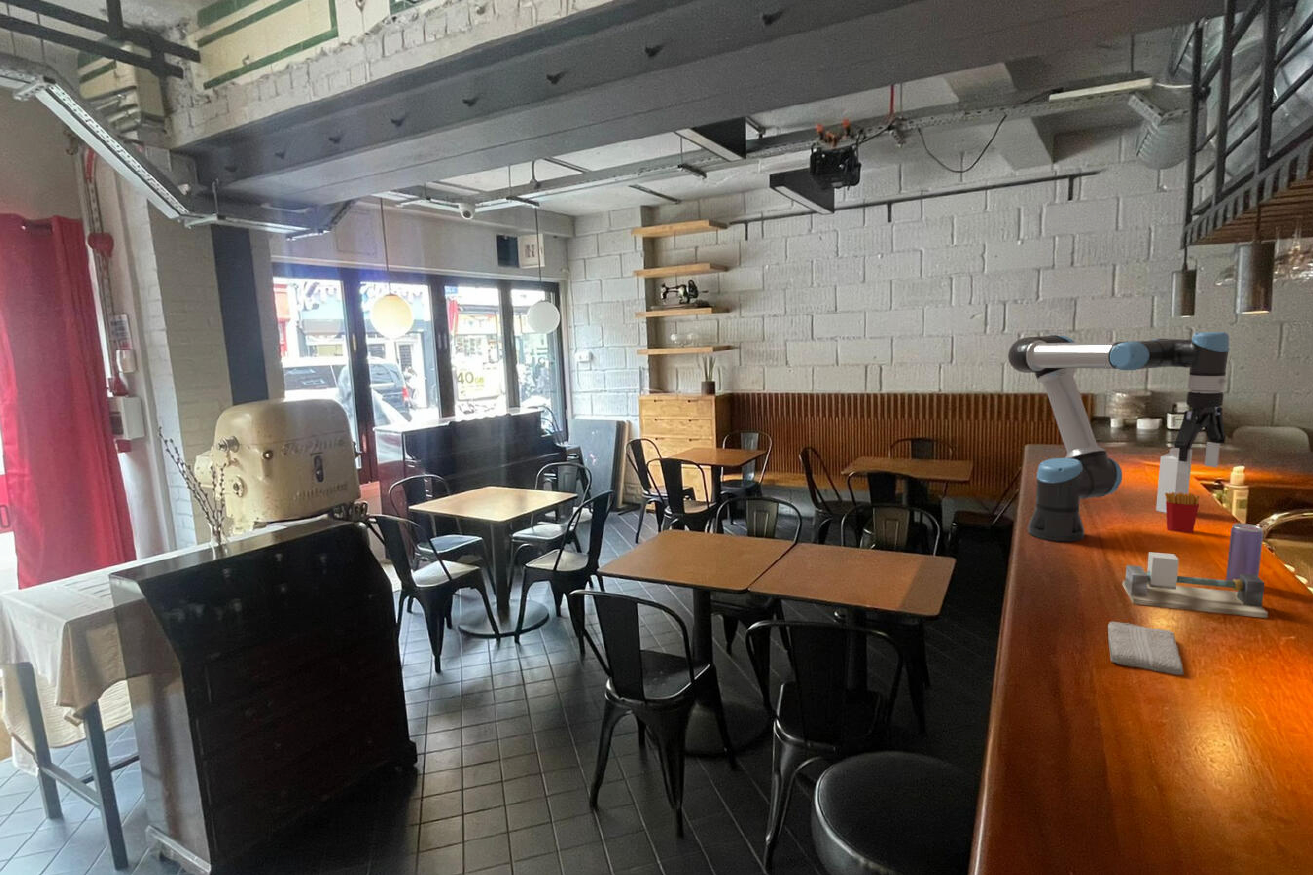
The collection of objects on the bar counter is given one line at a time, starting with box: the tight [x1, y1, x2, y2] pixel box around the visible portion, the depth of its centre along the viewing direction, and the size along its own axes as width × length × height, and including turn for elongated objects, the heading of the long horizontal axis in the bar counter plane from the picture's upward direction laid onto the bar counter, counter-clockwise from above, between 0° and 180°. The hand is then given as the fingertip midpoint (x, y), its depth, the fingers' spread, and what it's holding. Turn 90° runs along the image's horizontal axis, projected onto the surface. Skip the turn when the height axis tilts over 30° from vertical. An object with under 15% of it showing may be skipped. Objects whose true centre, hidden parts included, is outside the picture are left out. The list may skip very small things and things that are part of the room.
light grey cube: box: [1146, 551, 1180, 590], centre depth 164 cm, size 5×4×7 cm
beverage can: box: [1225, 523, 1264, 581], centre depth 169 cm, size 6×6×15 cm
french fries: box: [1165, 492, 1200, 533], centre depth 211 cm, size 8×4×12 cm, turn 57°
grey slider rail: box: [1122, 564, 1269, 619], centre depth 162 cm, size 25×12×7 cm, turn 66°
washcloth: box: [1107, 621, 1184, 676], centre depth 140 cm, size 12×18×3 cm, turn 150°
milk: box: [1155, 447, 1192, 514], centre depth 229 cm, size 6×6×22 cm
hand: (1197, 469), depth 184 cm, fingers open, 13 cm apart
